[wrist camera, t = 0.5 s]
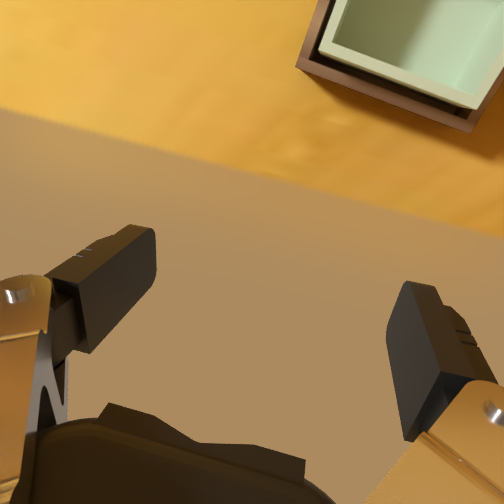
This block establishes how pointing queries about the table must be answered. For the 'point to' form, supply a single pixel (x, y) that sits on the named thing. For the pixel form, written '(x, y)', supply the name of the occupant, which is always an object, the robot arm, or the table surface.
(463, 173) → the table surface
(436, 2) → the green crate
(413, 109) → the box
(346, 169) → the table surface
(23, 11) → the table surface
